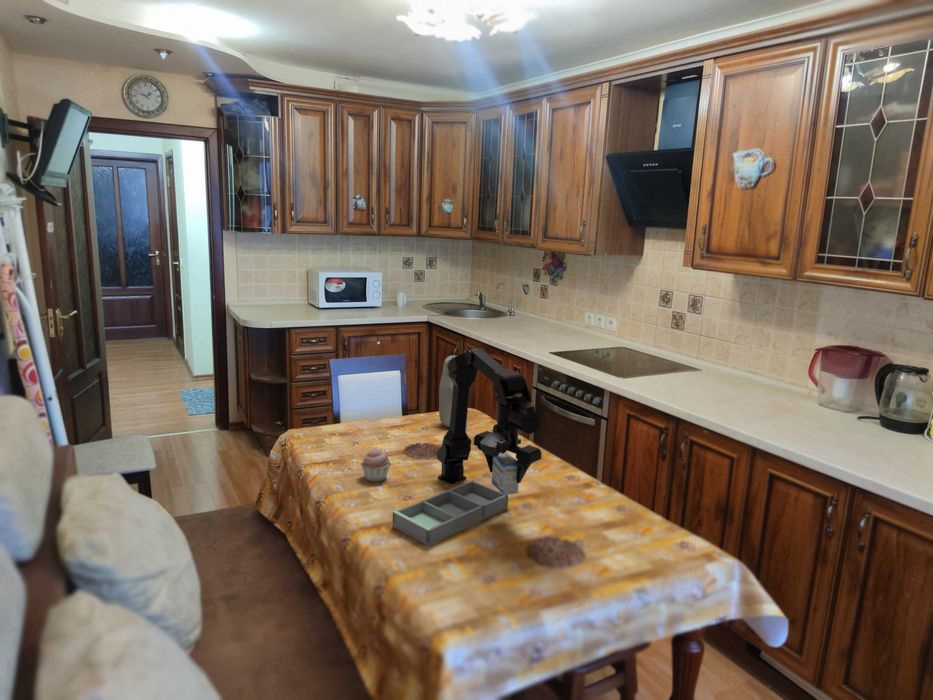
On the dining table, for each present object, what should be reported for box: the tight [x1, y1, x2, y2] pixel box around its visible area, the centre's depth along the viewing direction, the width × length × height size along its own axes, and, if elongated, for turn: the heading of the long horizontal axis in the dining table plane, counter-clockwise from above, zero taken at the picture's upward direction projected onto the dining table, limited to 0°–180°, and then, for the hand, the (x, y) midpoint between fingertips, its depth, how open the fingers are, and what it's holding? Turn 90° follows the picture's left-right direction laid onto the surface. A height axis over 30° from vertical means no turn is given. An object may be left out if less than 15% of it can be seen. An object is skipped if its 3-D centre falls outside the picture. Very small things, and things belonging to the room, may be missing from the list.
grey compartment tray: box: [392, 480, 509, 547], centre depth 169 cm, size 14×30×4 cm, turn 136°
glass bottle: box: [438, 354, 457, 428], centre depth 240 cm, size 10×10×28 cm
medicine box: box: [491, 451, 520, 496], centre depth 166 cm, size 8×4×9 cm, turn 21°
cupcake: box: [360, 446, 392, 483], centre depth 192 cm, size 9×9×10 cm
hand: (505, 477), depth 166 cm, fingers closed on medicine box, 9 cm apart
